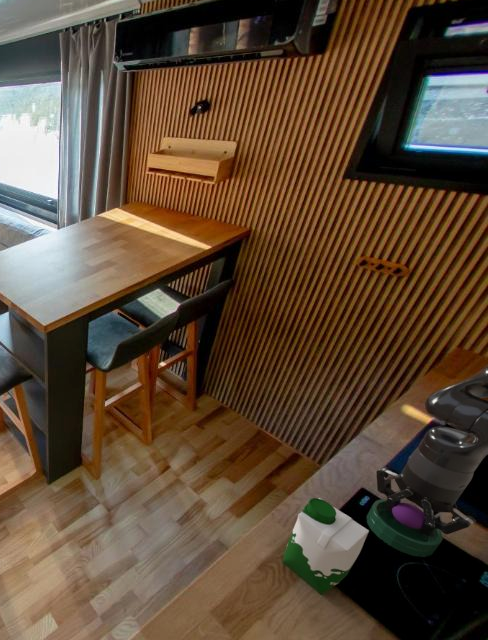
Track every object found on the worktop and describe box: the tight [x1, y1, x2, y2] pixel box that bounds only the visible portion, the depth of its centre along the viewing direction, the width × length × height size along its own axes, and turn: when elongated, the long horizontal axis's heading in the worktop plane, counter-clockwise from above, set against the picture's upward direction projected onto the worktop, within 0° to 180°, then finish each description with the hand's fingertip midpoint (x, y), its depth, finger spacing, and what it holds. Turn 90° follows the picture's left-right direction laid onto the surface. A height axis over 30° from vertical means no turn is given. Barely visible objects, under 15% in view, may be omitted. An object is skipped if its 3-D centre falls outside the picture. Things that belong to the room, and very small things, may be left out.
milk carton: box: [282, 497, 370, 596], centre depth 76 cm, size 9×9×20 cm
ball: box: [392, 502, 426, 529], centre depth 80 cm, size 5×5×5 cm
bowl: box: [366, 498, 444, 558], centre depth 82 cm, size 10×10×6 cm
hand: (406, 520), depth 81 cm, fingers closed on ball, 4 cm apart
